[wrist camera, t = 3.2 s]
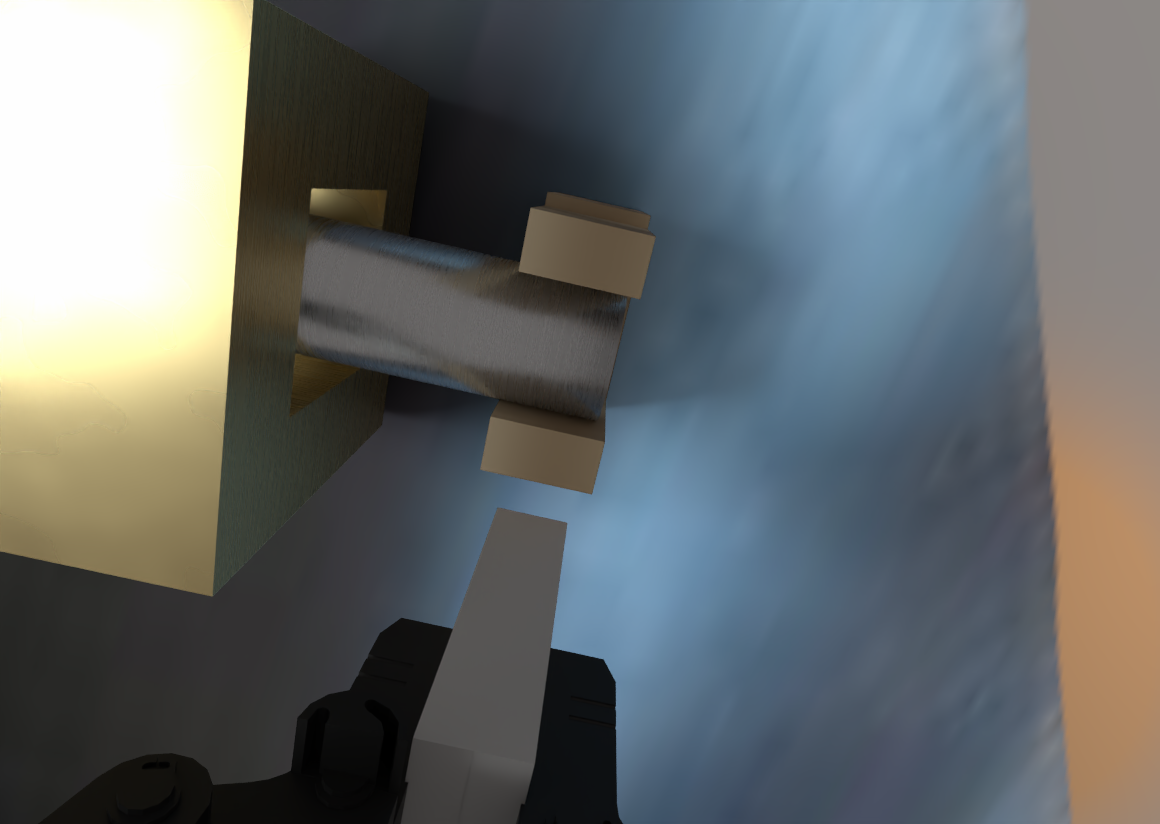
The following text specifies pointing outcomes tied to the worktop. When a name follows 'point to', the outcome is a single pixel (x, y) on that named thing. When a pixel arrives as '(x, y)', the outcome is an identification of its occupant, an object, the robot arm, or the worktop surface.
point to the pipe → (455, 319)
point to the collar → (178, 275)
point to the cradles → (618, 265)
